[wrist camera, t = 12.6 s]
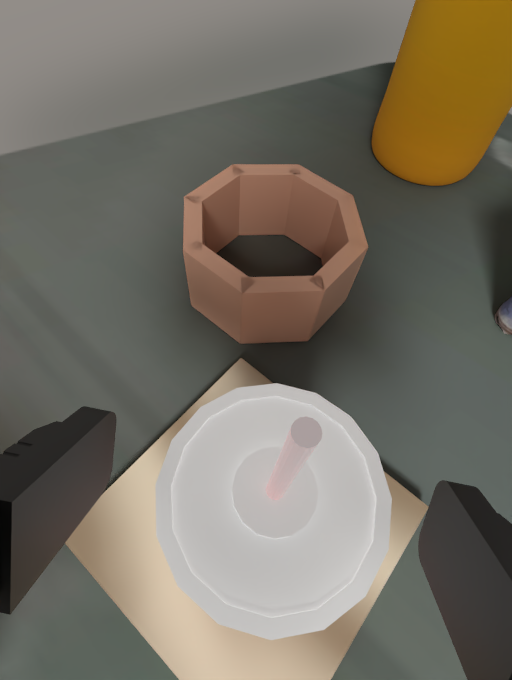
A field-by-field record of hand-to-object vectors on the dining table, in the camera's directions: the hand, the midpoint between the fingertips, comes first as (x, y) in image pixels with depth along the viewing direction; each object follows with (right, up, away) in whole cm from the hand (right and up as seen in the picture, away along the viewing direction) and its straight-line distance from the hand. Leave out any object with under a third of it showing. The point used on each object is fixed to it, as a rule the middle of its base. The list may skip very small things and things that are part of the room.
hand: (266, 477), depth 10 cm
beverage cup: (0, -5, +8) cm, 10 cm away
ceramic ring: (0, +8, +17) cm, 18 cm away
